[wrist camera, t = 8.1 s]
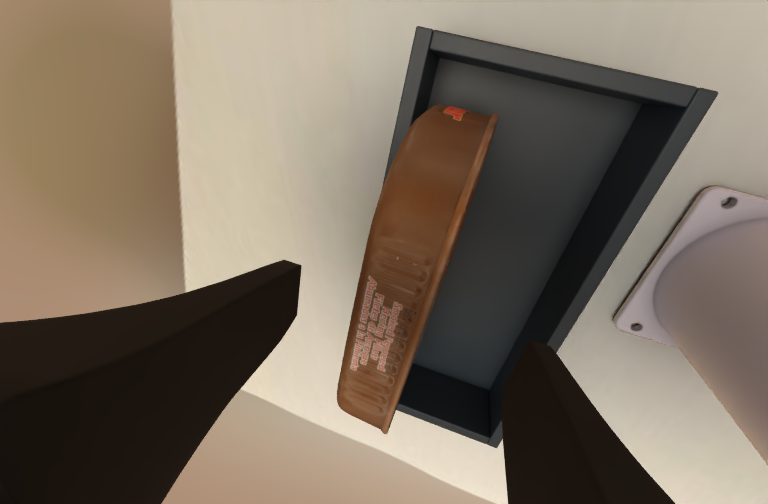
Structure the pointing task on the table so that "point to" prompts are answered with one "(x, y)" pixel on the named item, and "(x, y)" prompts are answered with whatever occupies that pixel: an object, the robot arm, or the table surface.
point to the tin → (409, 255)
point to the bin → (532, 207)
